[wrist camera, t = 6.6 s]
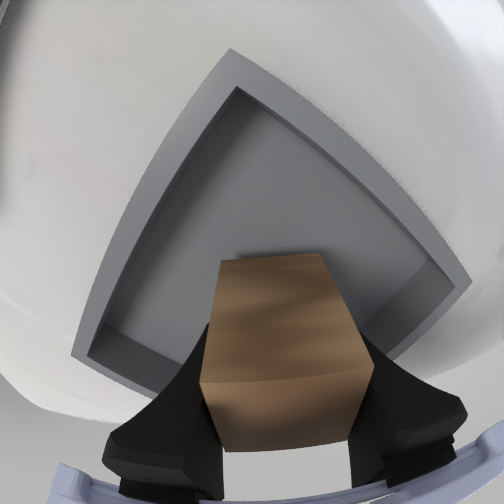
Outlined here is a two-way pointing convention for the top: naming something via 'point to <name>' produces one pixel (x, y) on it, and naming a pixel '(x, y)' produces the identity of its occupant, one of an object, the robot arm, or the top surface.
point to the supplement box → (3, 8)
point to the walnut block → (282, 356)
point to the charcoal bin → (258, 229)
